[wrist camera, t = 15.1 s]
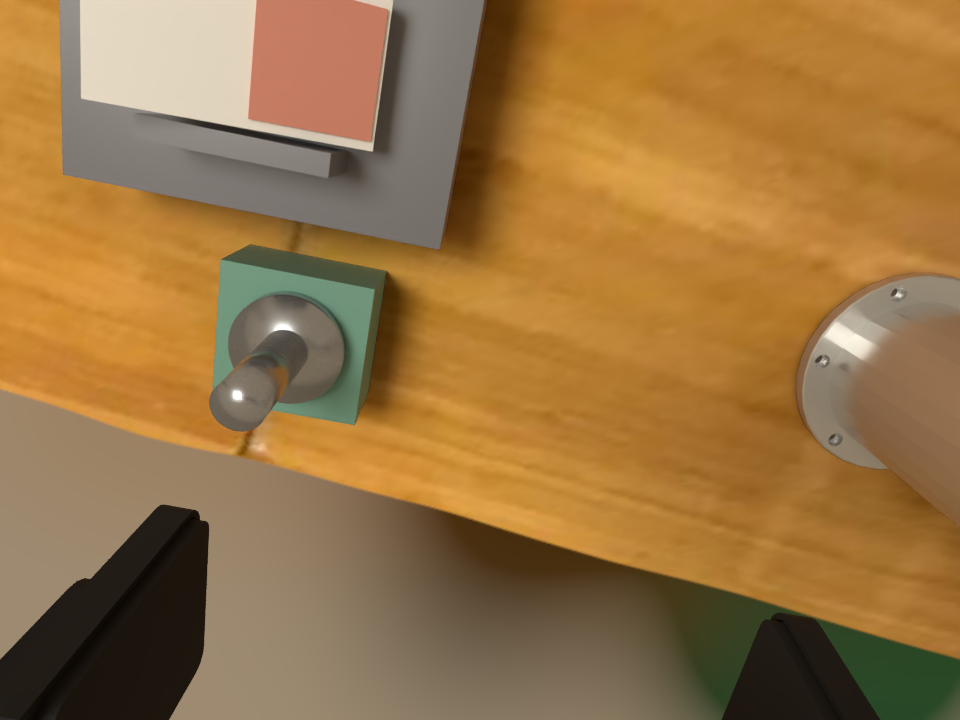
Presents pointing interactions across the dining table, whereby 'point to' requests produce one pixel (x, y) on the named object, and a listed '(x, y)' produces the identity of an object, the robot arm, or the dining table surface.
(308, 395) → the metal knob
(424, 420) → the dining table surface
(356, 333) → the stylus holder
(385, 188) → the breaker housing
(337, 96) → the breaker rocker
